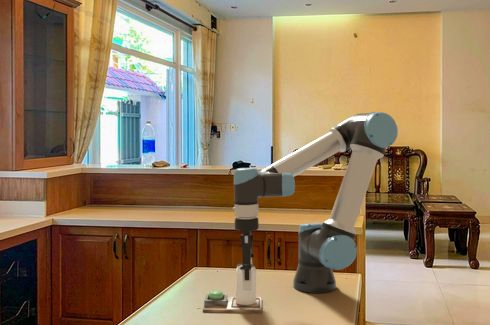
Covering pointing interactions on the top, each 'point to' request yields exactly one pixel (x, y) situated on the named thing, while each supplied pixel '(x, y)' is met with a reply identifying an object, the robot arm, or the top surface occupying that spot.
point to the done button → (216, 295)
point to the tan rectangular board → (231, 305)
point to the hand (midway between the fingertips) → (247, 283)
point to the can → (242, 296)
